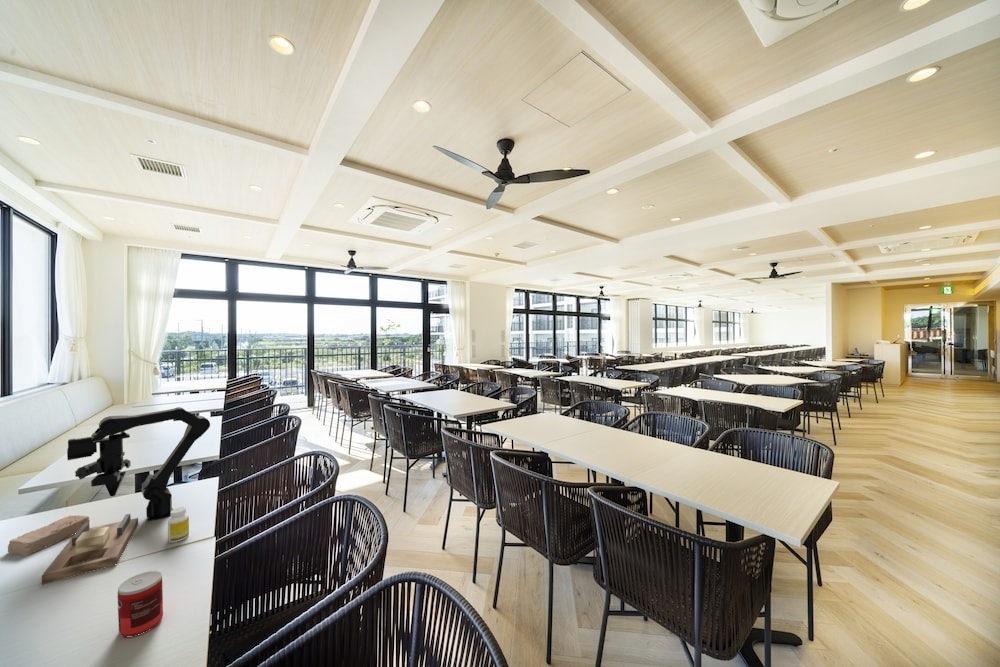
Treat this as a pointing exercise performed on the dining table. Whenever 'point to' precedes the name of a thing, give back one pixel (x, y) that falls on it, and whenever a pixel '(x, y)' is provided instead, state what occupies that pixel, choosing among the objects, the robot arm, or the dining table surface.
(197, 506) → the dining table surface
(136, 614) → the canned food
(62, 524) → the brick
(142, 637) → the dining table surface
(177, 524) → the supplement bottle
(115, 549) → the lane board
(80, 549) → the block
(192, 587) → the dining table surface
